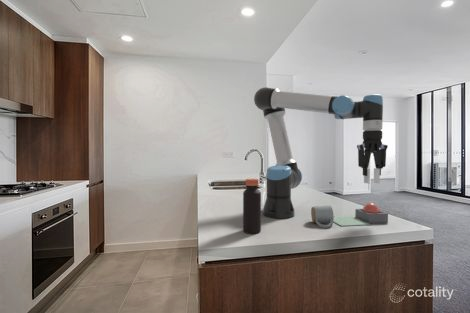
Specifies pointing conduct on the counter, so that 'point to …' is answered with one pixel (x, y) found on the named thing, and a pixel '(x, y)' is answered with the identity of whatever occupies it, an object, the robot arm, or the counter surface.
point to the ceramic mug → (322, 215)
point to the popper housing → (371, 216)
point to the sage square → (348, 221)
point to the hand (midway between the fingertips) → (371, 182)
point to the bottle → (252, 207)
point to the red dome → (371, 208)
